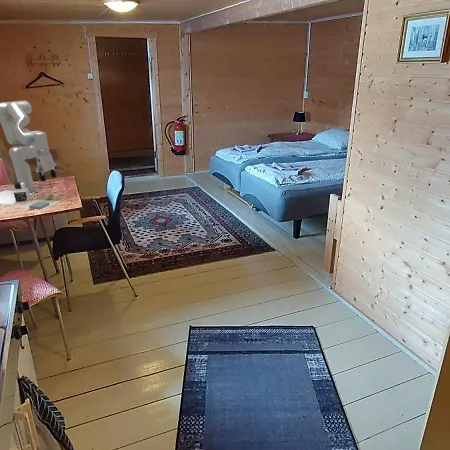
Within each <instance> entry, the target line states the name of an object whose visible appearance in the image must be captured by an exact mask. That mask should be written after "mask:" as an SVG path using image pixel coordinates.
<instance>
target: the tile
mask: <svg viewBox="0 0 450 450" xmlns="http://www.w3.org/2000/svg"><path fill="white" fill-rule="evenodd" d="M48 205H49V203H48V202H37V203H35V204H32V205H30V206H29V208H33V209H32V210H42V208H44V207H46V206H48ZM29 208H28V209H29Z"/></svg>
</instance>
